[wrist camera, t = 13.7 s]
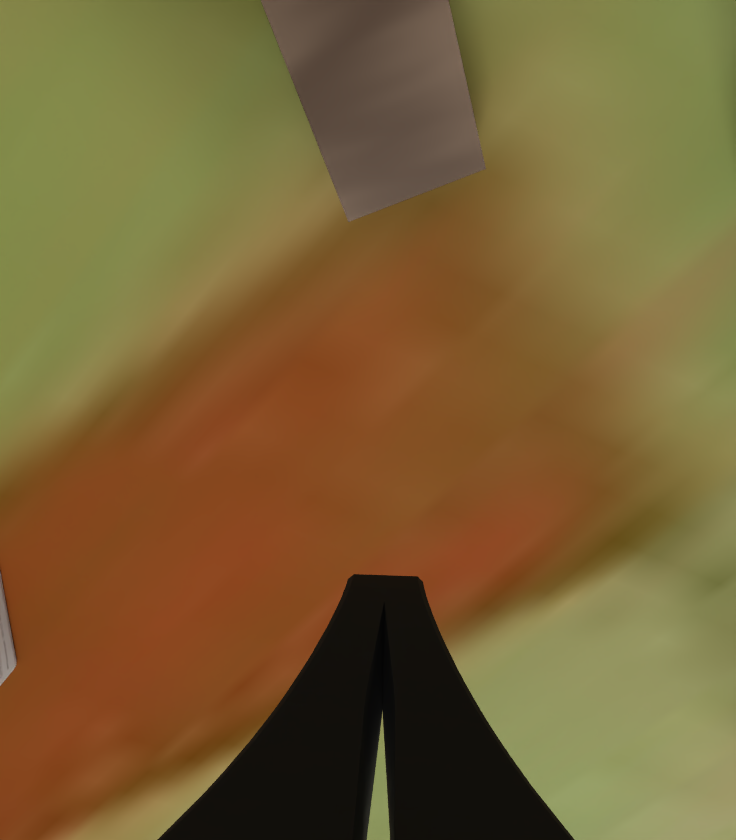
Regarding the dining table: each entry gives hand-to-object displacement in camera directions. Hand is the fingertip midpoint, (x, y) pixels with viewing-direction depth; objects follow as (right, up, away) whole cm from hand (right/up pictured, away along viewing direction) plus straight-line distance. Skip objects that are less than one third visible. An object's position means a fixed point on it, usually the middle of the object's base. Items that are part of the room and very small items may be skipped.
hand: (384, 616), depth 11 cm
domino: (+1, +11, +5) cm, 12 cm away
